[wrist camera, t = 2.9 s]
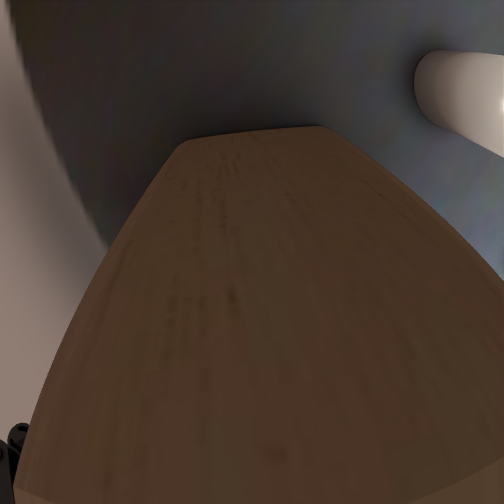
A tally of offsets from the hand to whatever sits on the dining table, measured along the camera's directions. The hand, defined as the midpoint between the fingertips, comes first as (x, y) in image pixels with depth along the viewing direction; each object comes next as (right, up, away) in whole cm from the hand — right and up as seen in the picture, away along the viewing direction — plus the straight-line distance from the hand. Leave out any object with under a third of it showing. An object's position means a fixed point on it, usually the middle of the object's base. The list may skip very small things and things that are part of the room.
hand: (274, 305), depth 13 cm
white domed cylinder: (+13, +14, +4) cm, 19 cm away
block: (0, +6, +8) cm, 10 cm away
